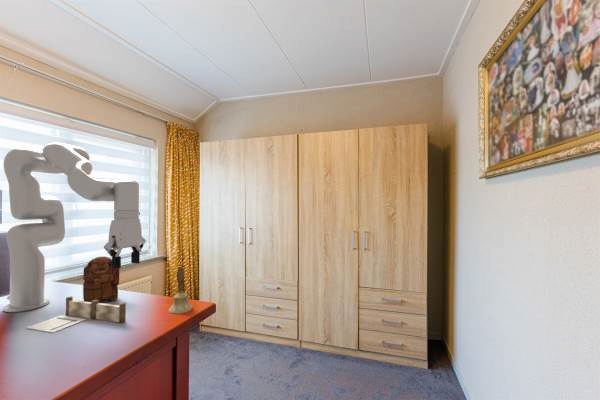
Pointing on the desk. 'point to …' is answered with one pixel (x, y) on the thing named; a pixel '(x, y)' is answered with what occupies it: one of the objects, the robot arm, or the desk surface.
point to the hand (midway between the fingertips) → (126, 265)
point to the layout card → (56, 324)
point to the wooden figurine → (100, 280)
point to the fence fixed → (81, 308)
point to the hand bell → (180, 296)
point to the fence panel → (111, 312)
